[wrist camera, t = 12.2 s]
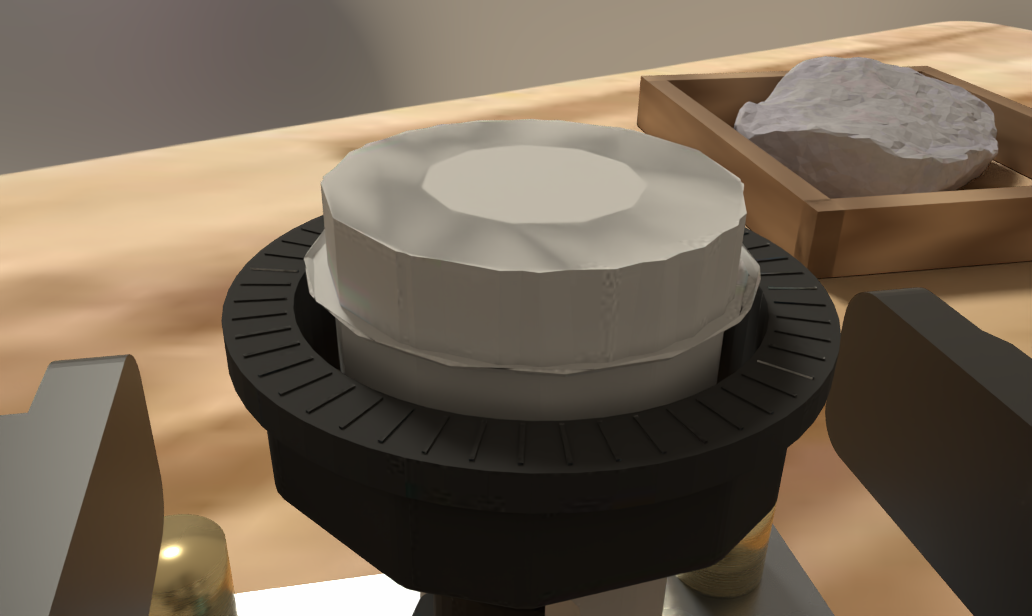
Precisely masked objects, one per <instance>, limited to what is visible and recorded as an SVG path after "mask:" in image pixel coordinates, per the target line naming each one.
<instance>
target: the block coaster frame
mask: <svg viewBox="0 0 1032 616" xmlns="http://www.w3.org/2000/svg"><path fill="white" fill-rule="evenodd" d="M909 68H911V69H913V70H915V71H917V72H919V73H920V74H922V75H924V76H926V77H930V78H934V79H938V80H940V81H943V82H946V83H948V84H952V85H956V86H960V87H962V88H964V89H965V90H967V91H968V92H970V93H971V94H972V95H974V96H976V97H977V98H979V99H980V100H981V101H983V102H985V103H986V104H987V105H988V106H989V107H990V109H991V110H992V112H993V113H994V118H995V127H996V129H997V136H996V141H997V142H998V154H997V156H996V157H995V158H994V159H993V160H995V161H997V162H999V163H1001V164H1003V165H1005V166H1007V167H1009V168H1011V169H1013V170H1015V171H1017V172H1019V173H1021V174H1023V175H1025V176H1027V177H1029V178H1031V179H1032V108H1030V107H1027V106H1025V105H1022V104H1020V103H1017V102H1015V101H1012V100H1010V99H1008V98H1005V97H1003V96H1000V95H998V94H995V93H993V92H990V91H988V90H985V89H983V88H980V87H978V86H975V85H973V84H971V83H968V82H966V81H963V80H961V79H958V78H956V77H953V76H951V75H948V74H946V73H943V72H941V71H939V70H936V69H934V68H931V67H929V66H912V67H909ZM786 73H789V71H770V72H742V73H713V74H685V75H656V76H641V82H640V94H639V106H638V118H637V126H639V127H640V128H641V129H642V130H643V131H644V132H645V133H646V134H647V135H651V136H654V137H657V138H660V139H664V140H667V141H670V142H674V143H677V144H680V145H683V146H687V147H690V148H693V149H696V150H699V151H700V152H702V153H703V154H704V155H706V156H707V157H709V158H710V159H712V160H713V161H715V162H716V163H718V164H719V165H721V166H722V167H724V168H725V169H727V170H728V171H730V172H731V173H733V174H734V175H735V176H737V177H738V178H740V180H741V182H742V183H743V184H744V190H743V196H744V201H745V207H746V212H747V215H746V222H745V225H747V226H748V227H749V228H750V229H751V230H752V231H753V232H755V233H757V234H759V235H761V236H762V237H764V238H766V239H768V240H770V241H771V242H773V243H774V244H776V245H777V246H779V247H781V248H782V249H784V250H785V251H787V252H788V253H789V254H790V255H792V256H793V257H794V258H796V259H797V260H798V261H800V262H801V263H802V264H803V265H804V266H805V267H806V268H807V269H808V270H809V271H810V272H811V273H812V274H813V275H814V276H815V277H816V278H827V277H839V276H851V275H864V274H876V273H888V272H900V271H912V270H924V269H936V268H948V267H960V266H972V265H984V264H997V263H1009V262H1021V261H1032V186H1021V187H1006V188H990V189H975V190H959V191H944V192H928V193H913V194H897V195H882V196H867V197H851V198H836V199H830V198H828V197H827V196H826V195H824V194H823V193H821V192H820V191H819V190H817V189H816V188H815V187H813V186H812V185H810V184H809V183H808V182H806V181H805V180H804V179H802V178H801V177H799V176H798V175H797V174H795V173H794V172H793V171H791V170H790V169H788V168H787V167H786V166H784V165H783V164H781V163H780V162H779V161H777V160H776V159H775V158H773V157H772V156H770V155H769V154H768V153H766V152H765V151H764V150H762V149H761V148H759V147H758V146H757V145H755V144H754V143H753V142H751V141H750V140H748V139H747V138H746V137H744V136H743V135H742V134H740V133H739V132H737V131H736V130H735V129H733V128H732V127H734V124H735V121H736V118H737V116H738V113H739V110H740V109H741V108H742V107H743V106H744V104H745V103H747V102H749V101H750V102H753V103H756V104H759V103H760V102H764V101H766V99H767V98H768V97H769V96H770V95H771V93H772V92H773V90H774V89H775V87H776V86H777V84H778V83H779V82H780V81H781V80H782V78H783V77H784V76H785V75H786Z"/></svg>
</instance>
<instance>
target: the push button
mask: <svg viewBox="0 0 1032 616" xmlns="http://www.w3.org/2000/svg"><path fill="white" fill-rule="evenodd" d="M743 190H744V184H743V183H742V182H741V180H740V178H738V177H737V176H735V175H734V174H733V173H731V172H730V171H728V170H727V169H725V168H724V167H722V166H721V165H719V164H718V163H716V162H715V161H713V160H712V159H710V158H709V157H707V156H706V155H704V154H703V153H702V152H700V151H699V150H696V149H693V148H690V147H687V146H683V145H680V144H677V143H674V142H670V141H667V140H664V139H660V138H657V137H654V136H651V135H647V134H644V133H641V132H638V131H634V130H629V129H624V128H619V127H609V126H598V125H591V124H583V123H576V122H568V121H560V120H536V119H523V120H478V121H471V122H464V123H456V124H441V125H437V126H433V127H429V128H423V129H417V130H410V131H405V132H402V133H400V134H397V135H394V136H392V137H389V138H386V139H383V140H379V141H375V142H372V143H368V144H365V145H364V146H363V147H362V148H359V149H357V150H354V151H351V152H349V153H348V154H347V155H346V156H345V157H344V159H343V160H342V161H341V162H340V163H339V164H338V165H337V166H336V167H335V168H334V169H333V170H331V171H330V172H329V173H327V174H326V175H325V176H323V180H322V181H321V192H322V204H323V215H322V216H320V217H317V218H315V219H312V220H310V221H308V222H306V223H304V224H302V225H300V226H298V227H296V228H294V229H292V230H290V231H289V232H287V233H285V234H284V235H282V236H280V237H279V238H277V239H276V240H274V241H273V242H271V243H270V244H269V245H267V246H266V247H265V248H263V249H262V250H261V251H259V252H258V253H257V254H256V255H255V256H254V257H253V258H252V259H251V260H250V261H249V262H248V263H247V264H246V265H245V266H244V267H243V269H242V270H241V271H240V272H239V274H238V275H237V276H236V278H235V279H234V281H233V283H232V285H231V286H230V288H229V290H228V293H227V296H226V299H225V302H224V305H223V312H222V328H223V335H224V342H225V349H226V356H227V362H228V369H229V374H230V377H231V380H232V382H233V385H234V388H235V391H236V392H237V394H238V396H239V397H240V399H241V401H242V402H243V404H244V405H245V407H246V409H247V410H248V411H249V412H250V413H251V414H252V415H253V417H254V418H255V419H256V420H257V421H258V422H259V423H260V425H261V426H262V427H264V428H265V429H266V430H267V434H268V440H269V447H270V454H271V460H272V467H273V473H274V480H275V485H276V488H277V491H278V493H279V494H280V495H281V496H282V497H283V499H284V500H286V501H287V502H288V503H290V504H291V505H292V506H294V507H295V508H296V509H298V510H299V511H300V512H302V513H303V514H304V515H306V516H307V517H308V518H310V519H311V520H313V521H314V522H315V523H317V524H318V525H319V526H321V527H322V528H323V529H325V530H326V531H327V532H329V533H330V534H331V535H333V536H334V537H335V538H337V539H338V540H339V541H341V542H342V543H343V544H345V545H346V546H347V547H349V548H350V549H351V550H353V551H354V552H355V553H357V554H358V555H359V556H361V557H362V558H363V559H365V560H366V561H367V562H369V563H370V564H371V565H373V566H374V567H375V568H377V569H378V570H379V571H381V572H382V573H383V574H385V575H386V576H387V577H389V578H390V579H391V580H393V581H394V582H395V583H397V584H398V585H400V586H402V587H404V588H406V589H409V590H413V591H417V592H420V599H419V601H418V603H417V606H416V608H415V610H414V612H413V614H412V616H662V613H663V606H664V598H665V590H666V583H667V578H668V577H670V576H675V575H679V574H683V573H687V572H692V571H696V570H700V569H705V568H708V567H711V566H713V565H714V564H716V563H718V562H719V561H721V560H722V559H723V558H724V557H725V556H726V555H727V554H728V553H729V552H730V551H731V550H732V549H733V548H734V547H735V546H736V545H737V544H738V543H739V542H740V541H741V540H742V539H743V538H744V537H745V536H746V535H747V534H748V533H749V532H750V531H751V530H752V529H753V528H754V527H755V526H756V525H757V524H758V523H759V522H760V521H761V520H762V519H763V518H764V517H765V516H766V515H767V514H768V513H769V512H770V511H771V510H772V509H773V507H774V506H775V504H776V501H777V498H778V493H779V487H780V482H781V477H782V472H783V467H784V462H785V457H786V451H787V448H788V447H789V446H790V445H791V444H793V443H794V442H795V441H796V440H798V439H799V438H800V437H801V436H802V434H803V433H804V432H805V431H806V430H807V429H808V428H809V427H810V426H811V425H812V424H813V422H814V421H815V420H816V418H817V416H818V415H819V413H820V412H821V410H822V408H823V407H824V405H825V403H826V400H827V397H828V395H829V392H830V389H831V386H832V382H833V377H834V372H835V368H836V363H837V358H838V354H839V347H840V339H841V332H840V322H839V318H838V315H837V312H836V309H835V306H834V303H833V302H832V300H831V298H830V296H829V295H828V293H827V291H826V289H825V288H824V287H823V286H822V284H821V283H820V282H819V281H818V279H817V278H816V277H815V276H814V275H813V274H812V273H811V272H810V271H809V270H808V269H807V268H806V267H805V266H804V265H803V264H802V263H801V262H800V261H798V260H797V259H796V258H794V257H793V256H792V255H790V254H789V253H788V252H787V251H785V250H784V249H782V248H781V247H779V246H777V245H776V244H774V243H773V242H771V241H770V240H768V239H766V238H764V237H762V236H761V235H759V234H757V233H755V232H753V231H751V230H749V229H747V228H745V222H746V215H747V212H746V207H745V201H744V196H743Z"/></svg>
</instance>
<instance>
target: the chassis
mask: <svg viewBox="0 0 1032 616" xmlns="http://www.w3.org/2000/svg"><path fill="white" fill-rule="evenodd" d="M776 502H777V501H776ZM775 507H776V504H775V506H774V507H773V509H772V510H771V511H770V512H769V513H768V514H767V515H766V516H765V517H764V518H763V519H762V520H761V521H760V522H759V523H758V524H757V525H756V526H755V527H754V528H753V529H752V530H751V531H750V532H749V533H748V534H747V535H746V536H745V537H744V538H743V539H742V540H741V541H740V542H739V543H738V544H737V545H736V546H735V547H734V548H733V549H732V550H731V551H730V552H729V553H728V554H727V555H726V556H725V557H724V558H723V559H722V560H721V561H719V562H718V563H716V564H714V565H713V566H711V567H708V568H705V569H700V570H696V571H692V572H687V573H683V574H679V575H675V576H670V577H668V578H667V583H666V590H665V598H664V606H663V613H662V616H834V614H833V613H832V611H831V610H830V608H829V607H828V605H827V604H826V602H825V601H824V599H823V598H822V596H821V595H820V593H819V592H818V590H817V589H816V587H815V586H814V584H813V583H812V581H811V580H810V579H809V577H808V576H807V574H806V573H805V571H804V570H803V568H802V567H801V565H800V564H799V562H798V561H797V559H796V558H795V556H794V555H793V553H792V552H791V550H790V549H789V547H788V546H787V544H786V543H785V541H784V540H783V538H782V537H781V535H780V534H779V532H778V531H777V529H776V528H775V526H774V525H773V517H774V512H775ZM419 599H420V592H417V591H413V590H409V589H406V588H404V587H402V586H400V585H398V584H397V583H395V582H394V581H393V580H391V579H390V578H389V577H387V576H386V575H385V574H380V575H372V576H365V577H358V578H350V579H343V580H336V581H328V582H321V583H314V584H306V585H299V586H292V587H284V588H277V589H270V590H263V591H255V592H248V593H241V594H235V592H234V586H233V580H232V574H231V568H230V562H229V556H228V550H227V545H226V539H225V534H224V532H223V530H222V529H221V527H220V526H219V525H218V524H217V523H215V522H214V521H212V520H210V519H208V518H205V517H202V516H198V515H190V514H179V515H171V516H165V517H164V527H163V536H162V543H161V548H160V554H159V560H158V566H157V571H156V577H155V583H154V588H153V594H152V600H151V605H150V611H149V616H412V614H413V612H414V610H415V608H416V606H417V603H418V601H419Z"/></svg>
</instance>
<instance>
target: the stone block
mask: <svg viewBox="0 0 1032 616" xmlns="http://www.w3.org/2000/svg"><path fill="white" fill-rule="evenodd" d="M734 129H735V130H736V131H737V132H739V133H740V134H742V135H743V136H744V137H746V138H747V139H748V140H750V141H751V142H753V143H754V144H755V145H757V146H758V147H759V148H761V149H762V150H764V151H765V152H766V153H768V154H769V155H770V156H772V157H773V158H775V159H776V160H777V161H779V162H780V163H781V164H783V165H784V166H786V167H787V168H788V169H790V170H791V171H793V172H794V173H795V174H797V175H798V176H799V177H801V178H802V179H804V180H805V181H806V182H808V183H809V184H810V185H812V186H813V187H815V188H816V189H817V190H819V191H820V192H821V193H823V194H824V195H826V196H827V197H828V198H830V199H836V198H851V197H867V196H882V195H897V194H913V193H928V192H944V191H955V190H957V189H958V188H960V187H962V186H965V185H966V184H967V183H968V182H969V181H971V180H972V179H975V178H977V177H979V176H980V175H981V173H983V172H984V171H985V170H986V168H987V167H988V165H989V163H990V162H991V161H992V160H993V159H994V158H995V157H996V156H997V154H998V142H997V141H996V136H997V129H996V127H995V118H994V113H993V112H992V110H991V109H990V107H989V106H988V105H987V104H986V103H985V102H983V101H981V100H980V99H979V98H977V97H976V96H974V95H972V94H971V93H970V92H968V91H967V90H965V89H964V88H962V87H960V86H956V85H952V84H948V83H946V82H943V81H940V80H938V79H934V78H930V77H926V76H924V75H922V74H920V73H919V72H917V71H915V70H913V69H911V68H909V67H899V66H895V65H889V64H884V63H881V62H880V61H877V60H874V59H869V58H861V57H855V58H846V59H845V58H838V57H827V56H825V57H820V58H814V59H809V60H805V61H803V62H801V63H799V64H798V65H796V66H795V67H793V68H792V69H791V70H790V71H789V73H786V75H785V76H784V77H783V78H782V80H781V81H780V82H779V83H778V84H777V86H776V87H775V89H774V90H773V92H772V93H771V95H770V96H769V97H768V98H767V99H766V101H764V102H760V103H759V104H756V103H753V102H750V101H749V102H747V103H745V104H744V106H743V107H742V108H741V109H740V110H739V113H738V116H737V118H736V121H735V124H734Z"/></svg>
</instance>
